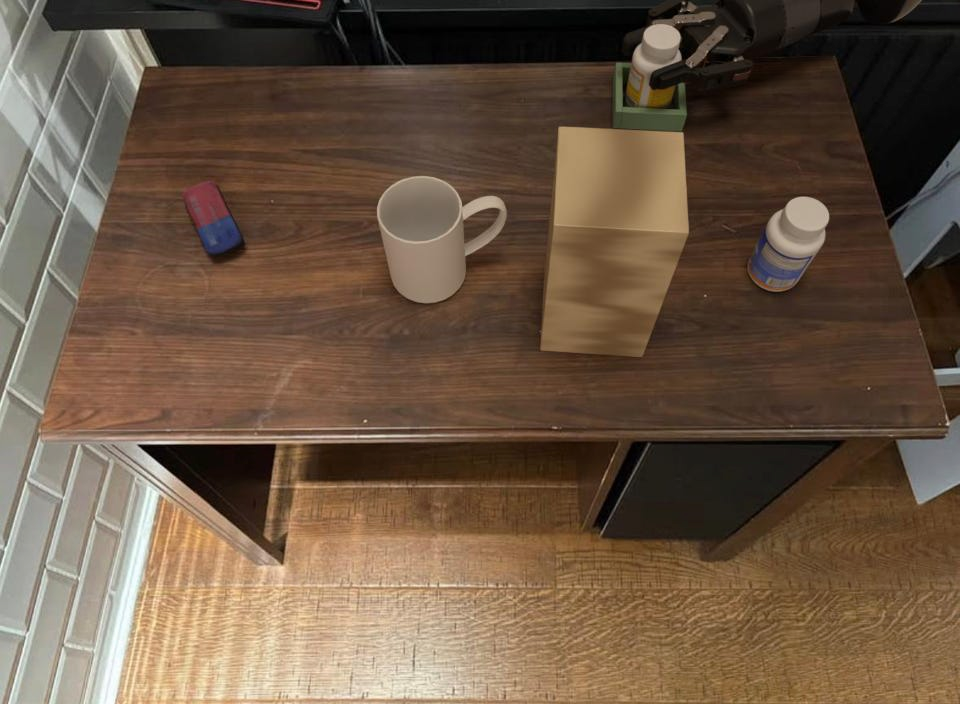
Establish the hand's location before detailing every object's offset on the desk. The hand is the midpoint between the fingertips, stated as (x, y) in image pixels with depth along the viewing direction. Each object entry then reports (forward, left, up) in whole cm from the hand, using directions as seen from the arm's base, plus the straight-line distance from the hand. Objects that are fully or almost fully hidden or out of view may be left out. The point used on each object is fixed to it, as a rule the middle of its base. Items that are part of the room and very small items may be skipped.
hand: (637, 63), depth 81 cm
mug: (+19, +24, -7) cm, 31 cm away
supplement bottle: (-2, -1, -7) cm, 8 cm away
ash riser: (+4, +28, -7) cm, 29 cm away
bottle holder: (-2, -1, -7) cm, 7 cm away
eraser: (+45, +20, -7) cm, 49 cm away
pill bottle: (-15, +22, -7) cm, 27 cm away
